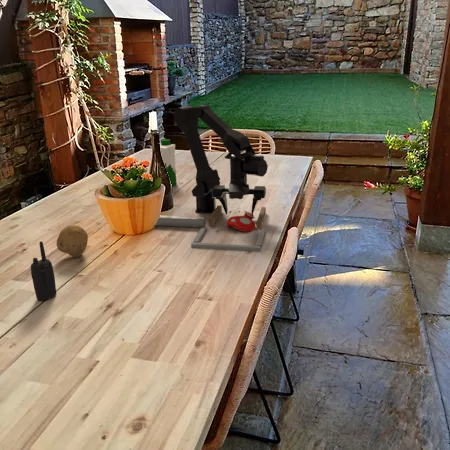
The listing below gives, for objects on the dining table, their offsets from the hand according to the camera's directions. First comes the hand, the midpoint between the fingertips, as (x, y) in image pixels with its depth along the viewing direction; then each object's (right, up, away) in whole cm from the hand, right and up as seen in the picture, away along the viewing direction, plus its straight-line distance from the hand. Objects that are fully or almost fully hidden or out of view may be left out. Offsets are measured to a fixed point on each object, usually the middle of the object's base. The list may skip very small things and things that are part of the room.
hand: (239, 214), depth 170 cm
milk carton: (-32, +14, +42) cm, 54 cm away
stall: (0, -2, 0) cm, 2 cm away
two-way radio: (-50, -22, -50) cm, 74 cm away
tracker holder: (+2, -5, -6) cm, 8 cm away
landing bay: (-4, -9, -17) cm, 20 cm away
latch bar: (-21, -4, -5) cm, 22 cm away
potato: (-50, -14, -27) cm, 59 cm away
